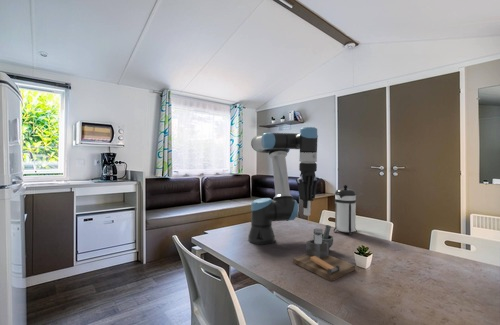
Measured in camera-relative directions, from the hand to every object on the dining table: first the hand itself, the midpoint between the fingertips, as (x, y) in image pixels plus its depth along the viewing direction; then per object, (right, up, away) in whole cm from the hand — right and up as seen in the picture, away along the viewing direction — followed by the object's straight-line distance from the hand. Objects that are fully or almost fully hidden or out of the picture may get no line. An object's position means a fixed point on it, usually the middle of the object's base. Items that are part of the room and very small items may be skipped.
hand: (306, 214), depth 108 cm
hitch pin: (+6, -21, +2) cm, 22 cm away
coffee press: (+36, -21, +46) cm, 62 cm away
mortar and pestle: (+12, -21, +15) cm, 29 cm away
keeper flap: (+4, -19, -9) cm, 21 cm away
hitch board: (+6, -21, -4) cm, 22 cm away
